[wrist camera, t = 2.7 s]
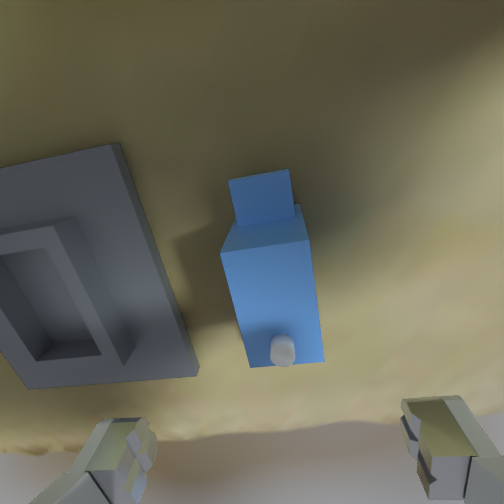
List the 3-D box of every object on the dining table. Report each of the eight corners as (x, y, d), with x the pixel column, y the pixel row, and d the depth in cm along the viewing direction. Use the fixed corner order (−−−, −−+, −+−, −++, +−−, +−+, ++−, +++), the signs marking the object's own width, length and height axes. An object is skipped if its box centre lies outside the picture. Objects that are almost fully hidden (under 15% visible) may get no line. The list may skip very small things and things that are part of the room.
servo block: (294, 161, 17) (304, 186, 10) (316, 325, 21) (331, 411, 15) (228, 174, 17) (199, 205, 11) (263, 330, 22) (257, 415, 16)
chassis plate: (119, 142, 17) (89, 146, 14) (199, 366, 24) (190, 396, 21) (-94, 190, 19) (-153, 201, 17) (36, 380, 26) (10, 409, 24)
